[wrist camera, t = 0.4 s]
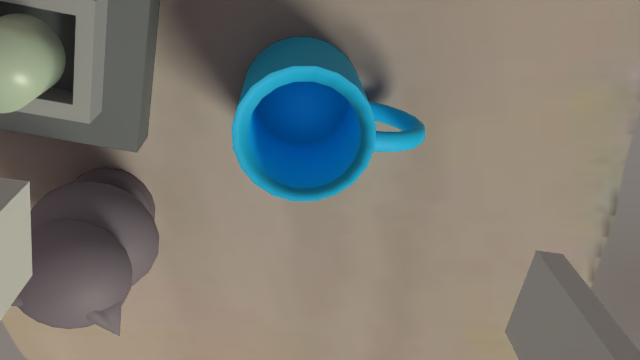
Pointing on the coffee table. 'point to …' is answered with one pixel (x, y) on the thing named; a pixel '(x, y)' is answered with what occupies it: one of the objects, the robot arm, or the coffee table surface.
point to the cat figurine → (89, 250)
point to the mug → (311, 122)
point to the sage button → (27, 60)
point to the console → (94, 72)
